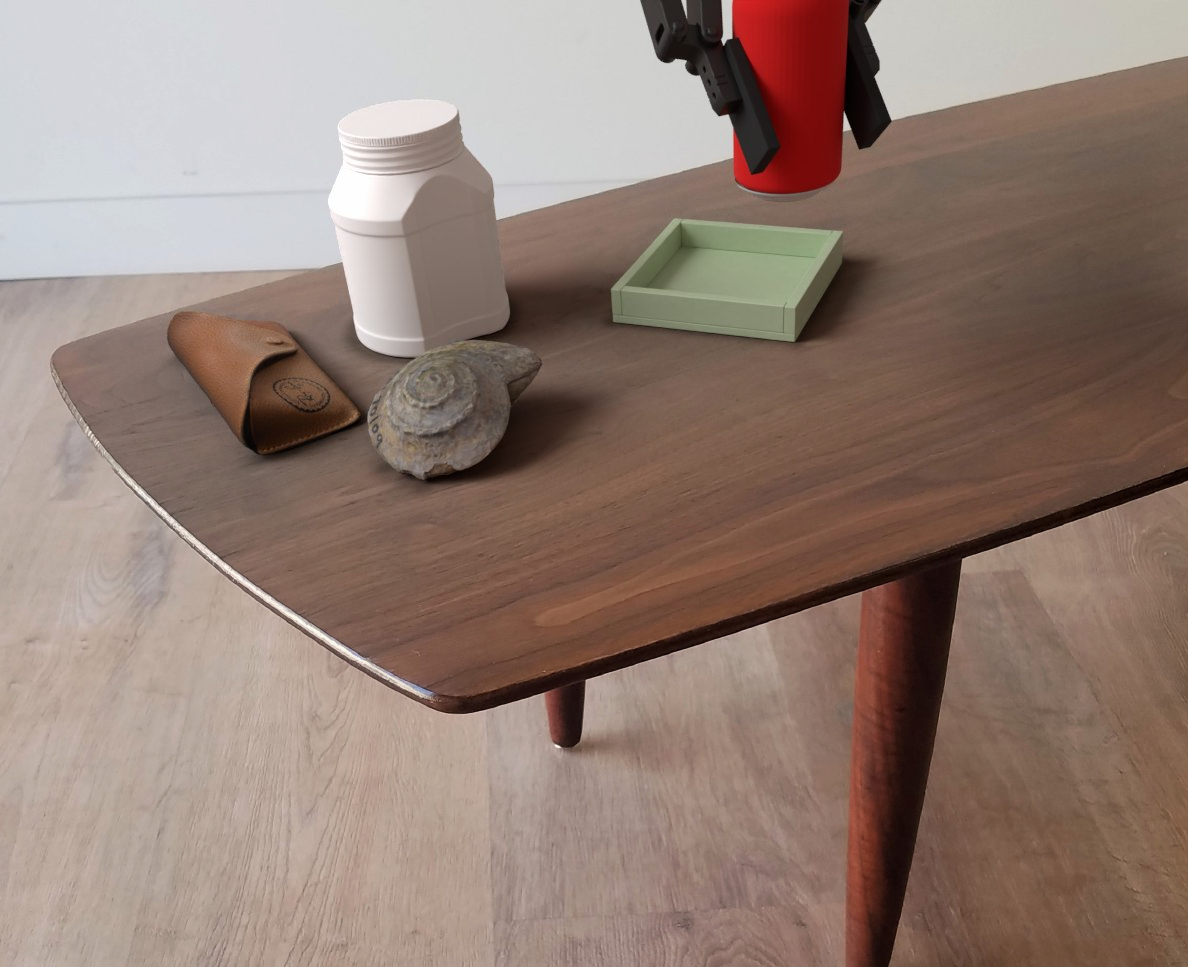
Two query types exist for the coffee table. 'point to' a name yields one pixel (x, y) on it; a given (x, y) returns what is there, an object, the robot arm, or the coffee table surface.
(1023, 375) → the coffee table surface
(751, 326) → the drinks tray
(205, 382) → the sunglasses case
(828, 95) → the beverage can
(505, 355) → the fossilized seashell
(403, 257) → the jar
